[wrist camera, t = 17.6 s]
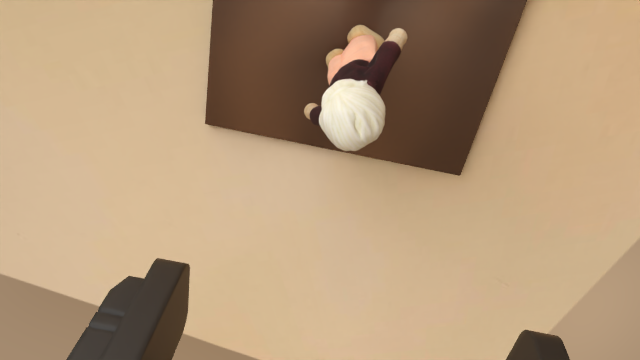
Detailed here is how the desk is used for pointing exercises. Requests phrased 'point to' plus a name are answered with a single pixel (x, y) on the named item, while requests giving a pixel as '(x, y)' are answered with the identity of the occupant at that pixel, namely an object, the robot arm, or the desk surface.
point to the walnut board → (401, 84)
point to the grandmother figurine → (357, 88)
